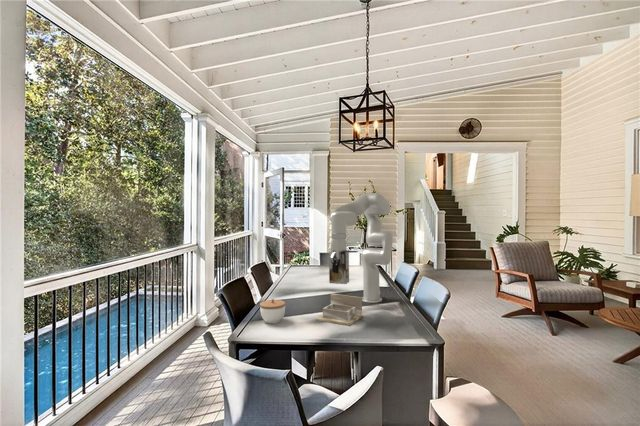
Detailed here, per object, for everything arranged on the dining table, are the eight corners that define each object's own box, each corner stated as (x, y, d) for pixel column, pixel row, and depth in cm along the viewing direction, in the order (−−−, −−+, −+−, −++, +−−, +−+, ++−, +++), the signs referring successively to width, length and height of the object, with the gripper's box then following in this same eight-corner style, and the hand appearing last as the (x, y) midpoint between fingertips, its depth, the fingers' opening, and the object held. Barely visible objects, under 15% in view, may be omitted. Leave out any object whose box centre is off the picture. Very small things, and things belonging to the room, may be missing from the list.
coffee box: (349, 281, 185) (349, 250, 184) (346, 284, 179) (346, 252, 178) (332, 280, 188) (332, 249, 187) (328, 283, 182) (328, 251, 181)
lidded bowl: (257, 319, 184) (257, 297, 183) (281, 316, 188) (281, 295, 188) (263, 326, 172) (263, 303, 172) (288, 323, 177) (288, 300, 177)
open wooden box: (331, 311, 195) (331, 293, 195) (362, 316, 186) (362, 297, 186) (316, 320, 181) (316, 300, 181) (348, 325, 172) (348, 305, 172)
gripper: (340, 234, 192) (340, 268, 193) (323, 237, 177) (324, 273, 178) (353, 235, 188) (353, 269, 189) (337, 238, 173) (337, 275, 174)
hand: (339, 271), depth 183 cm, fingers closed on coffee box, 7 cm apart
